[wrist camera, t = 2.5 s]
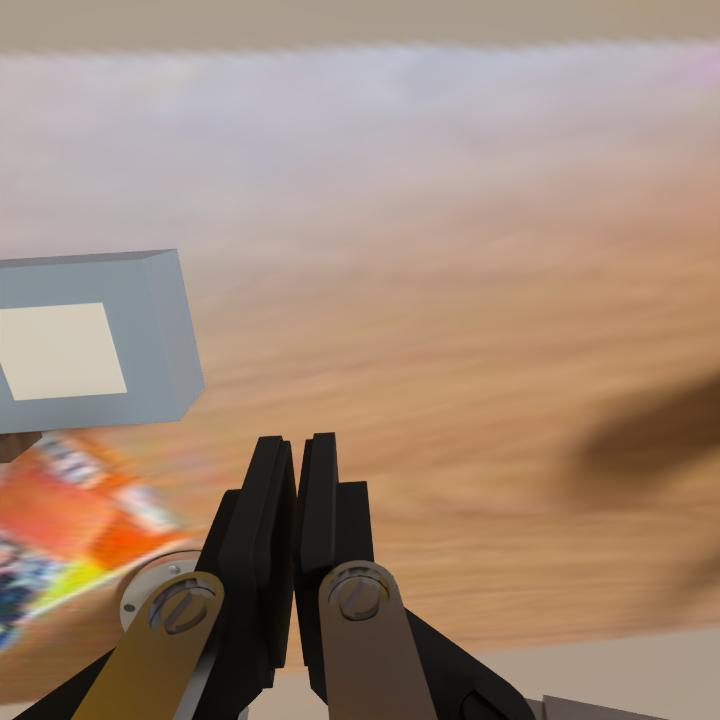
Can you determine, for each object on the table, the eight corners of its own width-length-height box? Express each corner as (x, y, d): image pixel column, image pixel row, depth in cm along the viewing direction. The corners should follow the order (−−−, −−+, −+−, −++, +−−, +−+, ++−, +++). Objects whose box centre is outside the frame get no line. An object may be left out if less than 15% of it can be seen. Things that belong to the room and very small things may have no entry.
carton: (178, 248, 26) (141, 259, 21) (206, 384, 29) (179, 421, 24) (-8, 260, 25) (-88, 273, 20) (41, 396, 28) (-19, 435, 24)
